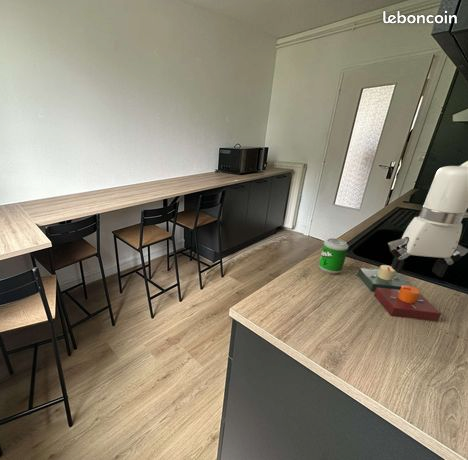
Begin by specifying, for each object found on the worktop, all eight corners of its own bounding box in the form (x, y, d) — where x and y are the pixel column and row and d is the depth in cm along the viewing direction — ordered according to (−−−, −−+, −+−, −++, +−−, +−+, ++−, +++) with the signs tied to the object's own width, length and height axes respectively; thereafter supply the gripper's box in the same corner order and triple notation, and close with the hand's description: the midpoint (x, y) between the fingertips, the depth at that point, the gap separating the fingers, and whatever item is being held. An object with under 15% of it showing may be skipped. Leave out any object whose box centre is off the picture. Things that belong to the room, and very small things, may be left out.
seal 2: (410, 295, 76) (414, 285, 75) (419, 304, 72) (424, 293, 71) (394, 294, 77) (398, 283, 76) (402, 302, 73) (407, 291, 72)
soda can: (339, 266, 98) (347, 239, 93) (342, 276, 92) (351, 247, 87) (317, 263, 101) (323, 236, 96) (319, 272, 95) (326, 244, 90)
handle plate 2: (414, 299, 79) (418, 291, 78) (437, 321, 70) (441, 312, 69) (373, 294, 82) (376, 286, 80) (390, 316, 73) (394, 307, 72)
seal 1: (376, 272, 88) (380, 263, 86) (391, 276, 86) (395, 266, 84) (377, 278, 85) (381, 268, 83) (393, 281, 83) (397, 271, 81)
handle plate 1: (392, 278, 90) (395, 270, 88) (410, 295, 81) (413, 287, 80) (357, 275, 92) (359, 267, 91) (370, 291, 83) (373, 283, 82)
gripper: (470, 213, 66) (443, 268, 73) (392, 209, 70) (373, 262, 77) (497, 223, 59) (464, 283, 66) (409, 218, 63) (387, 275, 70)
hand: (415, 272), depth 71 cm, fingers open, 9 cm apart
